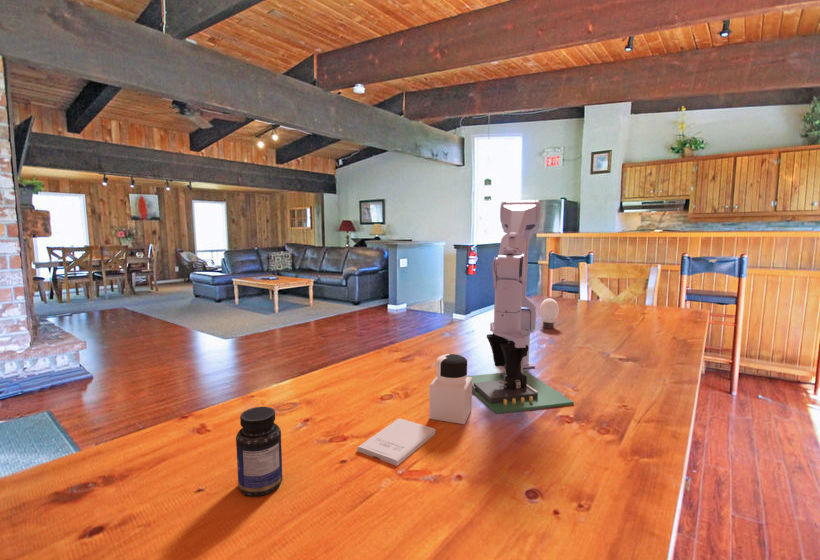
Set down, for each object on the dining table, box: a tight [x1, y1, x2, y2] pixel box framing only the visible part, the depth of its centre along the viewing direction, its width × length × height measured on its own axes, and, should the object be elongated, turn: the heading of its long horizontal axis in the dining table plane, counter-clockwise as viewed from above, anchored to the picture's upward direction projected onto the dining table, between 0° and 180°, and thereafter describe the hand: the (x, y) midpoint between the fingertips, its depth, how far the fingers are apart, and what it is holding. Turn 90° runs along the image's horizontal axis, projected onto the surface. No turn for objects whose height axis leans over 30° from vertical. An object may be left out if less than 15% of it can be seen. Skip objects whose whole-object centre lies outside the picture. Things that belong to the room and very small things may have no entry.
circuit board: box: [467, 370, 575, 415], centre depth 98 cm, size 20×18×2 cm
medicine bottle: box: [428, 353, 473, 425], centre depth 85 cm, size 7×7×12 cm
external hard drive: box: [356, 418, 436, 467], centre depth 75 cm, size 2×8×12 cm
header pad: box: [474, 380, 538, 404], centre depth 95 cm, size 9×11×2 cm
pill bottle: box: [235, 406, 283, 497], centre depth 61 cm, size 6×6×11 cm
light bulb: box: [539, 297, 560, 329], centre depth 158 cm, size 7×7×11 cm
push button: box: [499, 342, 528, 389], centre depth 95 cm, size 7×5×10 cm
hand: (505, 370), depth 94 cm, fingers open, 6 cm apart
